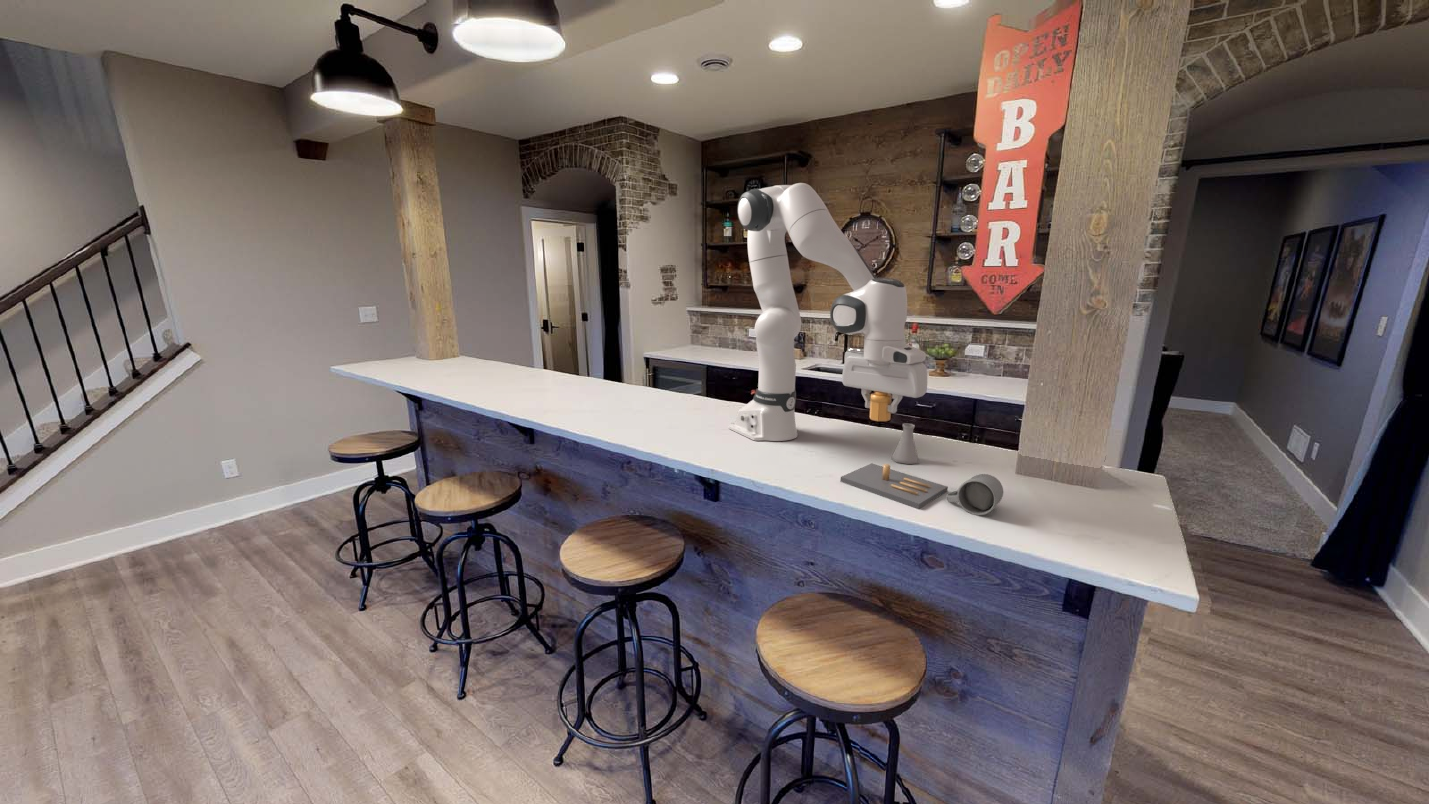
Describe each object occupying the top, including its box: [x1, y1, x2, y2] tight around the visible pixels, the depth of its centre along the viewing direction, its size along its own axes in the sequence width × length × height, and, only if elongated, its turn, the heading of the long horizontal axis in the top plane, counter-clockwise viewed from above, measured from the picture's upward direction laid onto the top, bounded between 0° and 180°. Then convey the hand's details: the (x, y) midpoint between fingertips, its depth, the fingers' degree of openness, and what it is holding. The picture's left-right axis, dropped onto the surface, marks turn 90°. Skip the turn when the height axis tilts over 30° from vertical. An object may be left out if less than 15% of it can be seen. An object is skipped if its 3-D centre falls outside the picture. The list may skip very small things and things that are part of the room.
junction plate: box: [840, 462, 949, 510], centre depth 126 cm, size 20×14×5 cm
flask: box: [891, 423, 920, 465], centre depth 143 cm, size 7×7×10 cm
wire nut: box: [869, 391, 892, 422], centre depth 124 cm, size 5×5×7 cm
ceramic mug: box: [946, 473, 1004, 516], centre depth 116 cm, size 11×8×8 cm
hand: (880, 410), depth 124 cm, fingers closed on wire nut, 4 cm apart
